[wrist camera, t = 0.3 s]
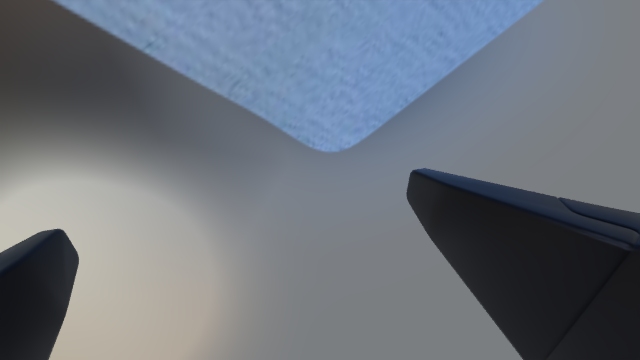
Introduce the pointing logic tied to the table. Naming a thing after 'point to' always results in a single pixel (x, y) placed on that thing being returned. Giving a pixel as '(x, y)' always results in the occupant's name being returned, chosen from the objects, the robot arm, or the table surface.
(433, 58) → the table surface
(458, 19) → the table surface
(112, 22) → the table surface
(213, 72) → the table surface
